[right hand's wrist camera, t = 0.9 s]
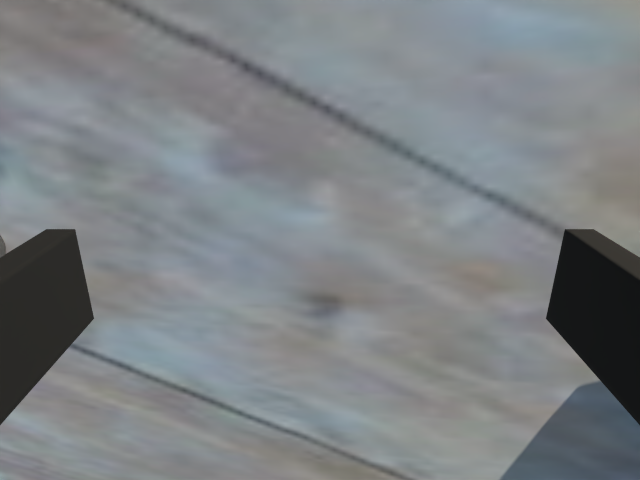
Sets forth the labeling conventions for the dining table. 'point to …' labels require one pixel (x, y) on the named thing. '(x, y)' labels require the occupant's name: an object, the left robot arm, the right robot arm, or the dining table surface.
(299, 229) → the dining table surface
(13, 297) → the right robot arm
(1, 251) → the jar
